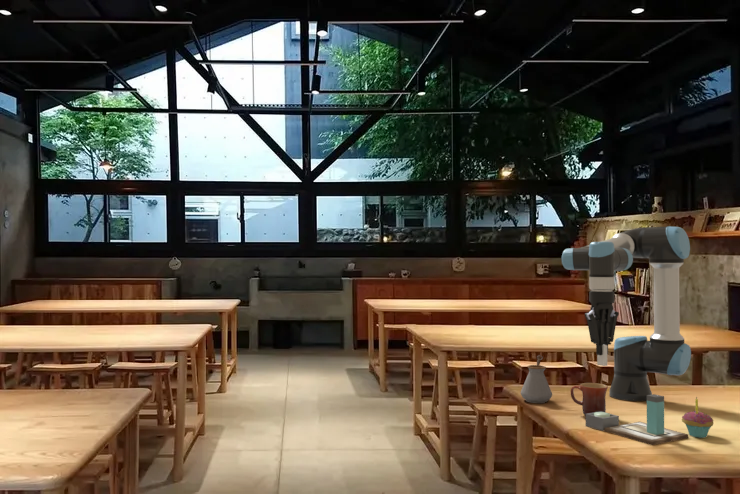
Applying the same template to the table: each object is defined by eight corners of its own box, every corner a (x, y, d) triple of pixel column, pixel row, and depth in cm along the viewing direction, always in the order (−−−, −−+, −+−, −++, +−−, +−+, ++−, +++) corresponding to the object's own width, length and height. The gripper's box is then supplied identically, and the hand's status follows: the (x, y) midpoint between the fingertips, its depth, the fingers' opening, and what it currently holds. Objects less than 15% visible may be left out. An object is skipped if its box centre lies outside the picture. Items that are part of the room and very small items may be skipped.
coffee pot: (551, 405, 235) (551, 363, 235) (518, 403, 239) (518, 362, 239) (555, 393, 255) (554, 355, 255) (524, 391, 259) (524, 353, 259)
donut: (712, 441, 191) (712, 399, 191) (680, 436, 195) (680, 396, 195) (714, 434, 198) (714, 394, 198) (683, 430, 202) (683, 391, 203)
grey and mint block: (654, 430, 197) (654, 394, 197) (664, 433, 194) (664, 396, 194) (646, 432, 195) (646, 395, 195) (656, 435, 192) (656, 397, 192)
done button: (601, 422, 209) (601, 411, 209) (613, 425, 205) (613, 414, 205) (590, 424, 207) (590, 413, 207) (602, 427, 203) (602, 416, 203)
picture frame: (640, 424, 209) (640, 420, 209) (688, 437, 194) (688, 433, 194) (604, 431, 201) (604, 426, 201) (651, 445, 186) (651, 440, 186)
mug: (609, 414, 222) (609, 384, 222) (605, 420, 214) (605, 389, 214) (573, 410, 228) (573, 381, 228) (568, 416, 220) (568, 385, 220)
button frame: (601, 423, 211) (601, 411, 211) (618, 428, 204) (618, 416, 204) (585, 425, 207) (585, 413, 207) (603, 431, 201) (603, 418, 201)
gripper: (606, 289, 213) (607, 361, 213) (577, 290, 206) (578, 365, 206) (625, 290, 206) (626, 365, 206) (596, 291, 200) (596, 368, 200)
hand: (602, 365), depth 206 cm, fingers closed
